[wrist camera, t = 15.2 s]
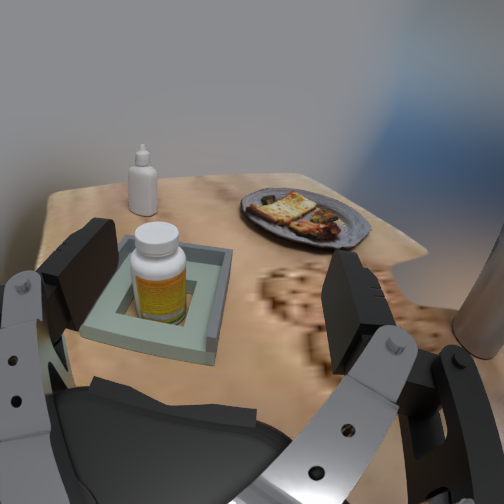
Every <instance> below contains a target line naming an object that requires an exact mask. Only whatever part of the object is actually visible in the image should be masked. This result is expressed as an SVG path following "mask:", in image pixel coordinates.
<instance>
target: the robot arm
mask: <svg viewBox="0 0 504 504" xmlns="http://www.w3.org/2000/svg"><path fill="white" fill-rule="evenodd" d="M118 263H119V252H118V245H117V237H116V229H115V223H114V221H113V220H111V219H103V218H93V219H91V220H90V221H89V222H88V223H87V224H86V225H85V226H84V227H83V228H82V229H80V230H78V231H76V232H75V233H73V234H71V235H70V236H69V237H68V238H67V239H66V240H65V241H64V242H63V243H62V244H61V245H60V246H59V247H58V248H57V249H56V251H54V252H53V253H52V254H51V255H50V256H49V257H48V258H47V259H46V260H45V262H44V263H43V264H42V265H41V266H40V267H39V268H38V269H37V270H36V271H24V272H21V273H18V274H16V275H15V276H13V277H12V278H11V279H10V280H9V281H8V282H7V284H6V285H2V286H0V504H350V503H349V502H348V501H347V500H346V497H347V496H348V495H349V493H350V492H351V490H352V489H353V487H354V486H355V484H356V483H357V481H358V480H359V478H360V477H361V475H362V474H363V472H364V471H365V469H366V468H367V466H368V464H369V463H370V461H371V459H372V458H373V456H374V454H375V453H376V451H377V449H378V448H379V446H380V444H381V442H382V441H383V439H384V437H385V435H386V433H387V431H388V429H389V428H390V426H391V424H392V422H393V420H394V418H395V416H396V414H397V413H398V416H399V423H400V429H401V436H402V443H403V451H404V459H405V469H406V479H407V492H408V504H504V453H503V449H502V445H501V441H500V437H499V433H498V430H497V426H496V423H495V419H494V416H493V413H492V409H491V406H490V403H489V400H488V397H487V394H486V391H485V389H484V386H483V383H482V380H481V378H480V375H479V373H478V370H477V367H476V365H475V362H474V360H473V358H472V357H471V355H470V354H469V353H468V352H467V351H466V350H464V349H463V348H461V347H459V346H457V345H447V346H445V347H444V348H443V349H442V351H441V352H440V353H439V355H437V354H433V353H430V352H427V351H423V350H420V349H418V347H417V343H416V341H415V339H414V338H413V337H412V336H411V335H410V334H409V333H408V332H407V331H405V330H404V329H402V328H400V327H397V326H396V323H395V321H394V318H393V316H392V313H391V311H390V308H389V306H388V303H387V301H386V299H385V298H384V297H385V296H384V293H383V291H382V290H381V286H380V284H379V282H378V279H377V277H376V276H375V275H374V274H373V273H372V272H371V271H370V270H369V269H368V268H363V267H362V264H361V262H360V259H359V257H358V255H357V253H355V252H348V251H341V250H335V251H334V253H333V256H332V259H331V262H330V265H329V268H328V272H327V275H326V278H325V281H324V284H323V288H322V295H321V300H322V307H323V313H324V318H325V325H326V331H327V337H328V343H329V350H330V357H331V364H332V371H333V374H336V375H345V377H344V378H343V379H342V381H341V382H340V383H339V385H338V386H337V387H336V389H335V390H334V391H333V393H332V394H331V395H330V397H329V398H328V399H327V401H326V402H325V403H324V404H323V406H322V407H321V408H320V409H319V411H318V412H317V413H316V414H315V416H314V417H313V418H312V419H311V420H310V422H309V423H308V424H307V425H306V426H305V428H304V429H303V430H302V431H301V432H300V433H299V435H298V436H297V437H296V438H295V439H294V440H292V439H290V438H289V437H288V436H287V435H285V434H284V433H283V432H281V431H279V430H278V429H276V428H274V427H272V426H270V425H268V424H266V423H263V422H260V421H257V420H256V413H257V409H250V408H241V407H232V406H225V405H218V404H204V405H180V406H169V405H165V404H163V403H161V402H159V401H157V400H155V399H153V398H151V397H149V396H147V395H145V394H143V393H141V392H139V391H137V390H135V389H133V388H132V387H130V386H126V385H123V384H119V383H115V382H112V381H109V380H105V379H102V378H99V377H96V376H94V377H93V380H92V382H91V384H90V386H82V387H76V385H75V382H74V379H73V375H72V371H71V366H70V362H69V357H68V352H67V347H66V341H65V337H64V335H63V332H64V330H65V329H66V328H67V329H70V330H74V331H77V332H78V330H79V329H80V327H81V325H82V324H83V322H84V320H85V319H86V317H87V315H88V314H89V312H90V311H91V309H92V307H93V306H94V304H95V302H96V301H97V299H98V298H99V296H100V295H101V293H102V292H103V290H104V288H105V287H106V285H107V284H108V282H109V281H110V279H111V278H112V276H113V275H114V273H115V272H116V270H117V267H118ZM452 326H453V331H454V334H455V336H456V337H457V339H458V340H459V342H460V343H461V344H462V345H463V347H464V348H465V349H467V350H468V351H469V352H470V353H472V354H473V355H475V356H477V357H479V358H483V359H491V358H493V357H494V356H495V355H496V354H497V353H498V352H499V350H500V349H501V348H502V346H503V345H504V223H503V226H502V228H501V231H500V233H499V236H498V238H497V240H496V242H495V244H494V247H493V249H492V251H491V253H490V255H489V257H488V259H487V261H486V263H485V265H484V267H483V270H482V271H481V273H480V275H479V277H478V279H477V281H476V282H475V284H474V286H473V288H472V290H471V291H470V293H469V295H468V297H467V298H466V300H465V302H464V303H463V305H462V307H461V308H460V310H459V311H458V313H457V315H456V316H455V318H454V320H453V323H452ZM442 408H443V412H444V416H445V420H446V424H447V437H446V439H445V436H444V431H443V427H442V422H441V418H440V414H439V411H440V410H441V409H442Z"/></svg>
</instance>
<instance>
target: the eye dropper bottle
mask: <svg viewBox="0 0 504 504" xmlns="http://www.w3.org/2000/svg"><path fill="white" fill-rule="evenodd" d="M135 155H136V156H135V166H132V167H131V168H130V169H129V171H128V196H129V209H130V210H131V211H132V212H133V213H135V214H137V215H141V216H152V215H154V214H156V213H157V172H156V170H155V169H154V168H152V167H151V166H150V165H149V164H150V153H149V152H148V151H146V148H145V144H142V145H141V146H140V150H139V151H138V152H136V154H135Z"/></svg>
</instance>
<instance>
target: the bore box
mask: <svg viewBox="0 0 504 504" xmlns="http://www.w3.org/2000/svg"><path fill="white" fill-rule="evenodd" d="M179 247H180V248H181V249H182V250H183V251H184V253H185V256H186V293H188V294H193V297H192V300H191V303H190V307H189V310H188V313H187V316H186V320H185V323H184V326H178V325H172V324H167V323H161V322H156V321H151V320H146V319H141V318H136V317H132V316H127V315H125V313H126V311H127V309H128V307H129V305H130V303H131V301H132V299H133V297H134V292H133V285H132V277H131V270H130V256H131V254H132V252H133V251H134V249H135V248H136V246H135V236H132V235H125V236H124V237H123V239H122V240H121V241H120V242H119V244H118V252H119V263H118V267H117V270H116V272H115V273H114V275H113V276H112V278H111V279H110V281H109V282H108V284H107V285H106V287H105V288H104V290H103V292H102V293H101V295H100V296H99V298H98V299H97V301H96V302H95V304H94V306H93V307H92V309H91V311H90V312H89V314H88V315H87V317H86V319H85V320H84V322H83V324H82V325H81V327H80V329H79V331H80V334H81V337H84V338H87V339H90V340H94V341H98V342H101V343H105V344H109V345H113V346H116V347H120V348H124V349H129V350H133V351H137V352H141V353H146V354H151V355H155V356H160V357H165V358H170V359H175V360H181V361H186V362H192V363H198V364H204V365H210V366H214V364H215V358H216V352H217V346H218V340H219V334H220V329H221V323H222V317H223V312H224V306H225V300H226V295H227V289H228V284H229V278H230V270H231V261H232V253H233V250H232V249H225V248H217V247H210V246H203V245H196V244H189V243H182V242H179Z"/></svg>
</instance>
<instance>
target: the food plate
mask: <svg viewBox="0 0 504 504" xmlns="http://www.w3.org/2000/svg"><path fill="white" fill-rule="evenodd" d="M316 207H317V208H319V209H321V210H319V211H317V212H315V213H314V215H311V213H313V212H314V210H315V209H316ZM241 208H242V213H243V214H244V215H246V217H247V218H248V220H250V221H252V222H254V223H256V224H257V225H259V226H261V227H262V228H264V229H265V230H268V231H270V232H271V233H273V234H274V235H275V236H279V237H282V238H284V239H287V240H290V241H295V242H299V243H305V244H309V245H312V246H314V247H317V248H322V247H325V248H331V250H332V247H334V248H333V249H335V250H336V249H340V248H341V247H345V248H347V249H348V248H351V247H353V246H355V244H358V243H359V242H360V241H361V240H362V239H364V237H365V236H366V235H368V233H369V231H370V230H371V231H372V228H371V225H370V224H369V223H368V221H366V220H365V219H364V218H363V217H362V216H361V214H359V213H358V212H357V211H356V210H354V209H352V208H351V207H349V206H347V205H346V204H343V202H340V201H338V200H335V199H332V198H329V197H326V196H324V195H321V194H318V193H314V192H309V191H305V190H299V189H292V188H272V189H269V188H266V190H265V189H262V190H259V191H256V192H254V194H253V193H251V194H250V195H248V196H245V197H244V198H243V199H242V200H241ZM338 218H339V219H340V220H341V221H343V222H344V223H345V224H342V225H343V226H344V225H346V226H345V227H342V226H340V227H339V226H337V225H340V224H336V223H333V221H336V220H338ZM342 228H344V229H345V230H344V231H341V229H342ZM346 231H347V233H346ZM345 233H346V234H345ZM347 234H348V235H347Z"/></svg>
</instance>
